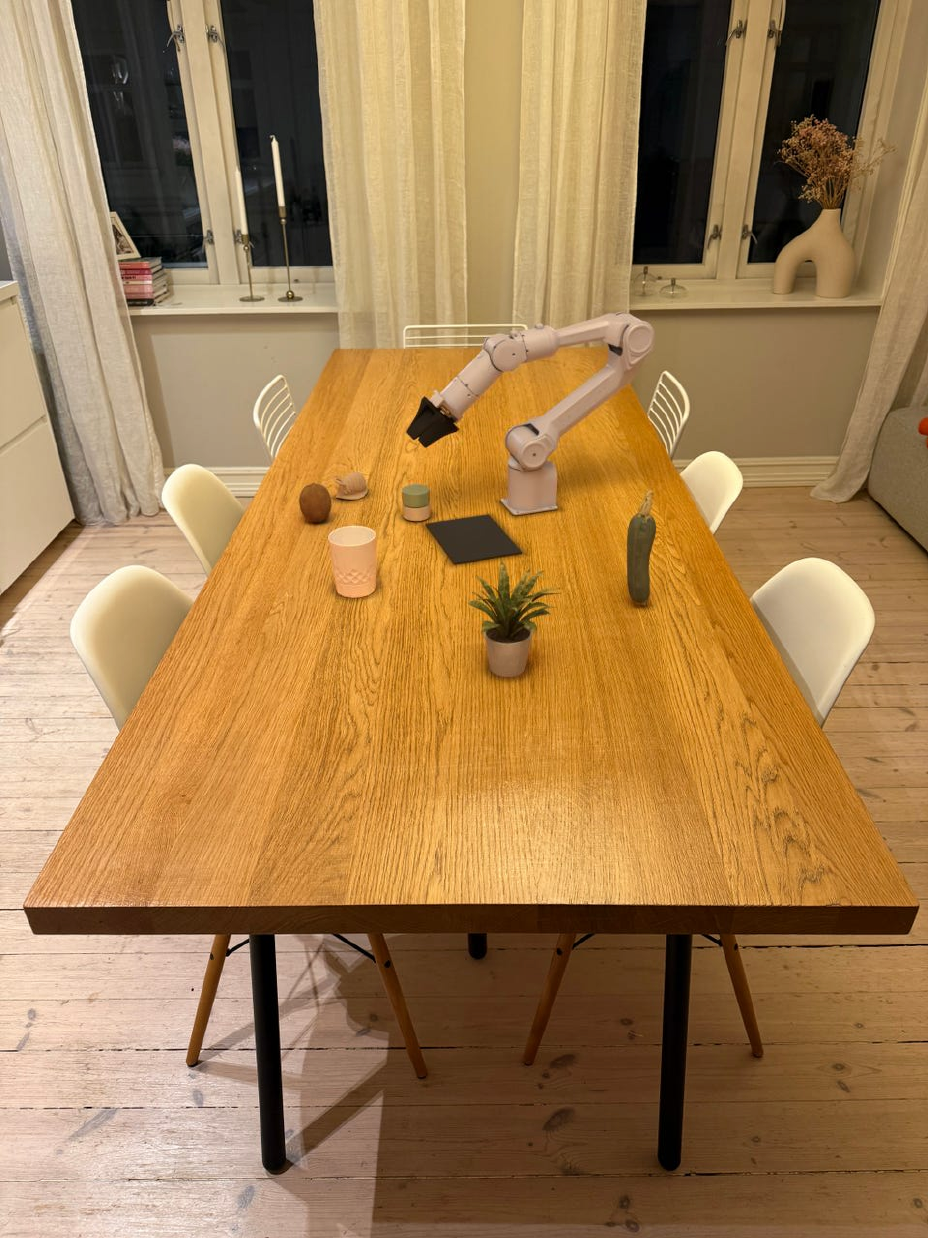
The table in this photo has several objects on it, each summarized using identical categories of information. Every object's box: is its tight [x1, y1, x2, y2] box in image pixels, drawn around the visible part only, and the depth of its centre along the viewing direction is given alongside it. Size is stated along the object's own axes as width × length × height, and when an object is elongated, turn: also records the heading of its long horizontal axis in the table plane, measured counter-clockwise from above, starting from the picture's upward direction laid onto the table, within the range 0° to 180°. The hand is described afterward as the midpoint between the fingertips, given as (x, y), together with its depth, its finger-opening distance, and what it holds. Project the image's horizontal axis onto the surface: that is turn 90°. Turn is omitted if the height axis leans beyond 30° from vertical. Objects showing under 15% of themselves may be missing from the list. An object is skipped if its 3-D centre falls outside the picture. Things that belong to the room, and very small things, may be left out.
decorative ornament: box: [333, 471, 369, 501], centre depth 197 cm, size 4×8×5 cm, turn 129°
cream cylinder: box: [401, 502, 431, 522], centre depth 188 cm, size 5×5×3 cm
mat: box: [425, 513, 523, 565], centre depth 180 cm, size 13×18×1 cm
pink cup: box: [327, 525, 377, 599], centre depth 161 cm, size 8×8×10 cm
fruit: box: [298, 482, 332, 523], centre depth 186 cm, size 6×6×8 cm
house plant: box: [467, 560, 563, 678], centre depth 136 cm, size 14×14×16 cm
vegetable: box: [626, 488, 657, 607], centre depth 152 cm, size 4×4×20 cm
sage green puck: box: [401, 483, 431, 507], centre depth 187 cm, size 5×5×3 cm
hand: (415, 440), depth 180 cm, fingers open, 7 cm apart
